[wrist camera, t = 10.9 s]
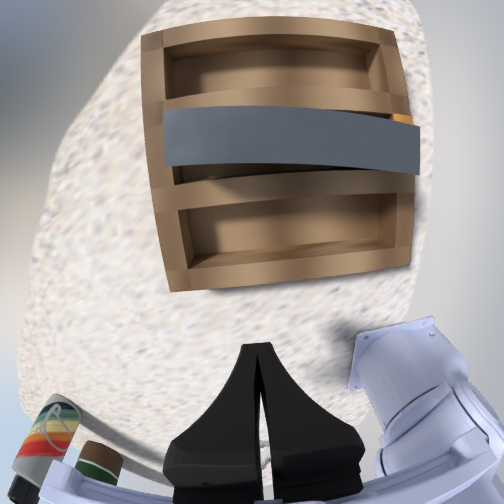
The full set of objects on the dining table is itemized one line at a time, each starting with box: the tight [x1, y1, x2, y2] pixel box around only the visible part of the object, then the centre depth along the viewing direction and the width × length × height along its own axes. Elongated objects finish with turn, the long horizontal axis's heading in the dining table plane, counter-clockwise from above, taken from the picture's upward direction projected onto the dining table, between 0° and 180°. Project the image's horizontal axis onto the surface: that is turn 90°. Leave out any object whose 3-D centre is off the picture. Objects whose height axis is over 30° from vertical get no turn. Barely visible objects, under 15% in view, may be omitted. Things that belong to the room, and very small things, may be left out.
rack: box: [141, 16, 414, 292], centre depth 16 cm, size 17×17×4 cm
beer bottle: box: [75, 440, 123, 486], centre depth 20 cm, size 8×8×24 cm
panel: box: [163, 106, 420, 175], centre depth 14 cm, size 12×2×7 cm, turn 90°
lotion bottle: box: [8, 394, 82, 504], centre depth 18 cm, size 6×6×20 cm
